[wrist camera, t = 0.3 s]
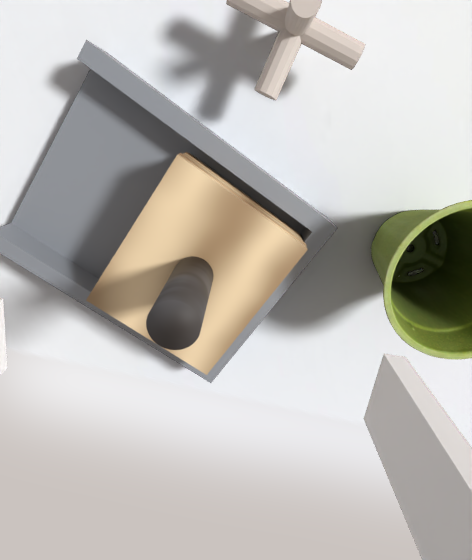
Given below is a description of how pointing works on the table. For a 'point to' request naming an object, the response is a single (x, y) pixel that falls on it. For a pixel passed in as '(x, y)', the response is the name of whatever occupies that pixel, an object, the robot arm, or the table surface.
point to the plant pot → (428, 278)
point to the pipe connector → (296, 38)
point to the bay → (130, 188)
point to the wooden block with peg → (197, 264)
